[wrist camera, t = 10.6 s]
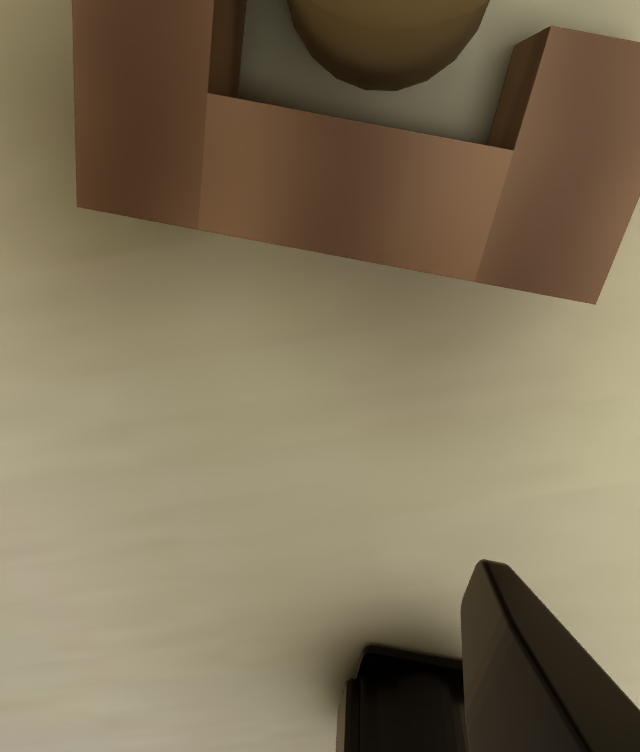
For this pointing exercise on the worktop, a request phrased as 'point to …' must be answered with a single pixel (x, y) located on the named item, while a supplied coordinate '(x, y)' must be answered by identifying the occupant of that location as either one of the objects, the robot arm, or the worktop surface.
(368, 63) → the cork
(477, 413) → the worktop surface
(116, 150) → the socket block
